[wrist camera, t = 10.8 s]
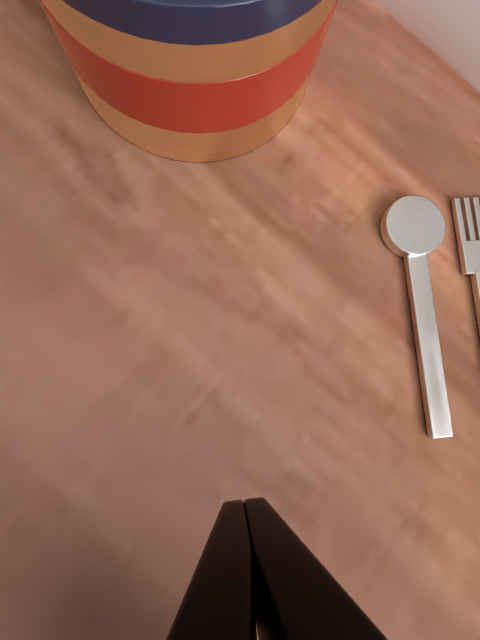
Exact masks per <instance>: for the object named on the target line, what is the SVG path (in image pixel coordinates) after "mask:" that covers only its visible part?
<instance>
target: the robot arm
mask: <svg viewBox="0 0 480 640" xmlns="http://www.w3.org/2000/svg"><path fill="white" fill-rule="evenodd" d="M256 625H257V632H258V637H259V640H388V639H387V638H386V637H385V636H384V635H383V634H382V632H381V631H380V630H379V629H378V628H377V627H376V626H375V624H374V623H373V622H372V621H371V620H370V619H369V618H368V616H367V615H366V614H365V613H364V612H363V611H362V610H361V608H360V607H359V606H358V605H357V604H356V603H355V602H354V600H353V599H352V598H351V597H350V596H349V595H348V594H347V592H346V591H345V590H344V589H343V588H342V587H341V585H340V584H339V583H338V582H337V581H336V580H335V579H334V577H333V576H332V575H331V574H330V573H329V572H328V571H327V569H326V568H325V567H324V566H323V565H322V564H321V563H320V561H319V560H318V559H317V558H316V557H315V556H314V555H313V553H312V552H311V551H310V550H309V549H308V548H307V547H306V545H305V544H304V543H303V542H302V541H301V540H300V539H299V537H298V536H297V535H296V534H295V533H294V532H293V530H292V529H291V528H290V527H289V526H288V525H287V524H286V522H285V521H284V520H283V519H282V518H281V517H280V516H279V514H278V513H277V512H276V511H275V510H274V509H273V508H272V506H271V505H270V504H269V503H268V502H267V501H266V500H265V499H264V498H262V497H259V498H251V499H246V500H245V501H244V502H243V501H242V500H234V501H226V502H224V503H223V505H222V507H221V509H220V512H219V514H218V517H217V519H216V521H215V524H214V526H213V529H212V531H211V533H210V536H209V538H208V541H207V543H206V545H205V548H204V550H203V553H202V555H201V557H200V560H199V562H198V565H197V567H196V569H195V572H194V574H193V577H192V579H191V581H190V584H189V586H188V588H187V591H186V593H185V596H184V598H183V600H182V603H181V605H180V608H179V610H178V612H177V615H176V617H175V620H174V622H173V624H172V627H171V629H170V632H169V634H168V636H167V639H166V640H257V632H256Z"/></svg>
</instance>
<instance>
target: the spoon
mask: <svg viewBox="0 0 480 640" xmlns="http://www.w3.org/2000/svg"><path fill="white" fill-rule="evenodd" d="M445 231H446V224H445V219H444V216H443V214H442V212H441V210H440V209H439V208H438V206H437V205H436V204H435V203H433V202H432V201H431V200H429V199H427V198H425V197H422V196H418V195H409V196H404V197H402V198H400V199H398V200H396V201H395V202H394V203H393V204H392V205H390V206H389V207H388V208H387V209H386V211H385V212H384V214H383V216H382V218H381V222H380V232H381V236H382V239H383V241H384V243H385V245H386V246H387V247H388V248H389V249H390V250H391V251H392V252H393V253H395V254H396V255H398V256H401V257H403V259H404V267H405V274H406V281H407V288H408V296H409V303H410V310H411V318H412V325H413V332H414V339H415V347H416V354H417V361H418V368H419V376H420V383H421V390H422V398H423V405H424V412H425V419H426V427H427V434H428V437H430V438H433V439H435V438H444V437H452V436H453V432H452V425H451V418H450V411H449V404H448V397H447V390H446V383H445V376H444V369H443V363H442V356H441V349H440V342H439V335H438V328H437V321H436V314H435V307H434V301H433V294H432V287H431V280H430V273H429V266H428V259H427V254H429V253H431V252H432V251H434V250H435V249H436V248H438V246H439V245H440V244H441V242H442V241H443V239H444V236H445Z"/></svg>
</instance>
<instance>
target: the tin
mask: <svg viewBox="0 0 480 640" xmlns="http://www.w3.org/2000/svg"><path fill="white" fill-rule="evenodd" d="M39 1H40V4H41V6H42V8H43V10H44V12H45V14H46V16H47V18H48V20H49V22H50V24H51V26H52V28H53V30H54V32H55V34H56V37H57V39H58V41H59V43H60V45H61V47H62V49H63V51H64V53H65V55H66V57H67V58H68V60H69V62H70V64H71V65H72V67H73V69H74V72H75V74H76V76H77V78H78V80H79V82H80V84H81V86H82V88H83V90H84V92H85V94H86V96H87V98H88V99H89V101H90V103H91V105H92V106H93V108H94V109H95V110H96V112H97V113H98V114H99V116H100V117H101V118H102V119H103V120H104V121H105V122H106V123H107V124H108V125H109V126H110V127H111V128H112V129H113V130H114V131H115V132H116V133H118V134H119V135H120V136H122V137H123V138H124V139H126V140H127V141H129V142H131V143H132V144H134V145H136V146H137V147H139V148H141V149H143V150H146V151H148V152H150V153H153V154H155V155H159V156H162V157H165V158H169V159H174V160H180V161H186V162H211V161H220V160H224V159H229V158H233V157H236V156H239V155H242V154H245V153H248V152H250V151H252V150H254V149H256V148H258V147H260V146H261V145H263V144H264V143H266V142H267V141H269V140H270V139H272V138H273V137H274V136H275V135H276V134H277V133H278V132H279V131H281V130H282V129H283V128H284V126H285V125H286V124H287V123H288V122H289V120H290V119H291V118H292V117H293V115H294V113H295V112H296V110H297V108H298V107H299V105H300V103H301V100H302V98H303V96H304V93H305V90H306V87H307V85H308V82H309V79H310V76H311V73H312V70H313V67H314V65H315V63H316V60H317V58H318V56H319V53H320V50H321V47H322V44H323V41H324V38H325V36H326V33H327V30H328V27H329V24H330V21H331V18H332V15H333V13H334V10H335V7H336V4H337V1H338V0H39Z"/></svg>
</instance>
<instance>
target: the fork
mask: <svg viewBox="0 0 480 640" xmlns="http://www.w3.org/2000/svg"><path fill="white" fill-rule="evenodd" d="M451 206H452V212H453V219H454V225H455V232H456V238H457V246H458V253H459V259H460V265H461V272H462V275H470V278H471V285H472V291H473V297H474V304H475V310H476V316H477V323H478V329H479V335H480V198H478V197H473V198H471V199H469V197H465V198H462V199H461V200H460V198H454V199H452V200H451Z"/></svg>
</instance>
